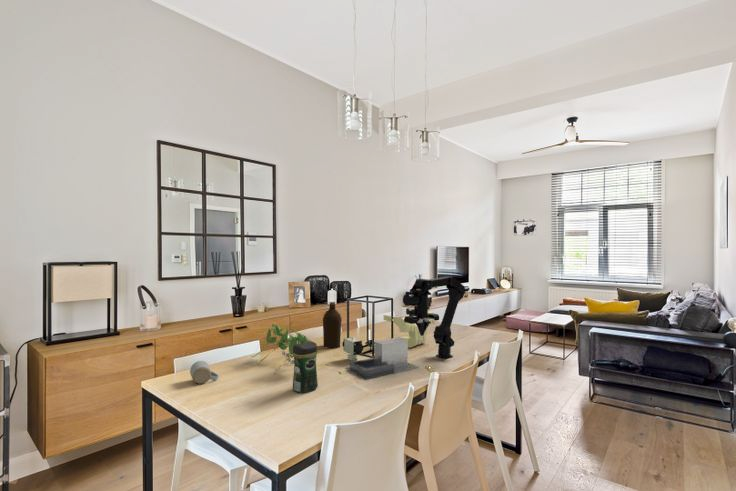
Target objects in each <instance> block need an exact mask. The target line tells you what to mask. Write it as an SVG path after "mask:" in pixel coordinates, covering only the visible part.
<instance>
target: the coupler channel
mask: <svg viewBox="0 0 736 491" xmlns="http://www.w3.org/2000/svg"><path fill="white" fill-rule="evenodd" d="M344 369H345V370H347V371H349V372H351V373H353V374H354V375H356V376H358V377H359V378H361V379H363V381H364V380H365V381H369V380H374V379H377V378H381V377H386V376H390V375H395V374H399V373H403V372H407V371H413V370H417V369H420V367H419V366H416V365H414V364H411V363H409V362H408V365H406V366H401V367H397V368H394V364H388V365H384V366H379V367H374V357H371V358H367V359H362V360H361V359H360V360H357V361H356V360H354V361H350V362H349V366H348V367H345V368H344Z"/></svg>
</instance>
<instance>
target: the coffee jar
mask: <svg viewBox="0 0 736 491" xmlns="http://www.w3.org/2000/svg"><path fill="white" fill-rule="evenodd" d="M311 341H312V340H311ZM311 341H309V342H304V343H300V344H298V343H297V344H295V345H294V346H293V354H292V356H293V357H292V358H293V360H294V364H293V365H294V366H293V377H292V390H293V391H294V392H295V393H302V394H304V393H308V392H311V391H314V390H316V389H317V388H318V373H317V355H318V345H317V343H316V342H314V341H312V342H311Z"/></svg>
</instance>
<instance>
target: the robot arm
mask: <svg viewBox="0 0 736 491" xmlns="http://www.w3.org/2000/svg"><path fill="white" fill-rule="evenodd" d="M440 286H445V288H446V289H447V290H448V293H447V294H448V302H447V305H446V307H445V311H444V314H443V317H442V319H441V320H442V321H441V323H440V324H439V325H436V326H435V327H434V331H433V340H434V341H435V344H437V345H438V349H437V350H438V351H437V354H436V355H435V356H436V357H439V358H440V359H441V358H442V359H445V360H447V359H450V358H452V357H454V355H452V354H451V353H452V352H451V351H452V350H451V349H452V347H454V346H455V341H454V340H453V338H452V331H451V330H452V329H451V327H452V323H453V321H454V320H453V319H454V317H455V314H456V310H457V307H458V304H459V302H460V301H461V300H462V299H463V298H464V296H465V293H466V291H467V290H466V288H465V286H464V285H463V284H462V283H461V282H460V281H459V280H457V279H456V278H454V277H453V276H451V275H444V276H441V277H436V278H430V279H429V278H427V279H425V278H417V279H415V281H414V284H413V285H412V287H411V289H410V291H405V294H404V295H403V296H402V303H403V305H404V306H406V307H408V306H414V307H413V308H411V307H408V308H406V310H405V313H406V315H409V316H406V315H405V316H404V317H405V318H404V317H403V318H404V322H406V323H410V324H416V325H417V327H418V329H419V332H420V335H421V336H423V335H424V333H425V331H426V329H427V330H428V328H429V327H428V325H429V324H430V323H431V322H430V321H429V319H434V320H435V321H439V320H440V316H439V314H438V313H434V312H432V313H428V311H429V310H430V307H431V306H429V296H431V295H432V293H431V292H430V291H431V290H432V289H433V288H436V287H440ZM414 316H416V317H414ZM419 318H421V319H419ZM430 325H431V324H430ZM430 325H429V326H430Z"/></svg>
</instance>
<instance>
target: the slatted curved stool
mask: <svg viewBox="0 0 736 491" xmlns="http://www.w3.org/2000/svg"><path fill="white" fill-rule="evenodd" d="M428 313H433V312H432V311H430V310H428ZM405 316H409V315H407V314H406V315H405ZM405 316H404V317H396V316H392V317H393V319H392V321H393V324H395V325H396V326H397V327H398V329H399V332H400V333H408V335H409V336H401V338H404V339H407V340H408V348H413V347H415V346H419V345H421V344H424V343H426V341H427V333H428V328H429V327H430V326H431V325H435V324H436V322H435V320H434V319H429V321H430V322H431V323H430V324H429V325H428V327H427V329H426V331H425V333H424V335H423V336H421V335H420V332H419V329H418V327H417V325H416V324H410V323H406V322H404V318H405ZM414 317H416V316H414ZM419 319H421V318H419ZM383 321H386V322H390V323H392V322H391V315H386V314H384V315H383Z"/></svg>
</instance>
